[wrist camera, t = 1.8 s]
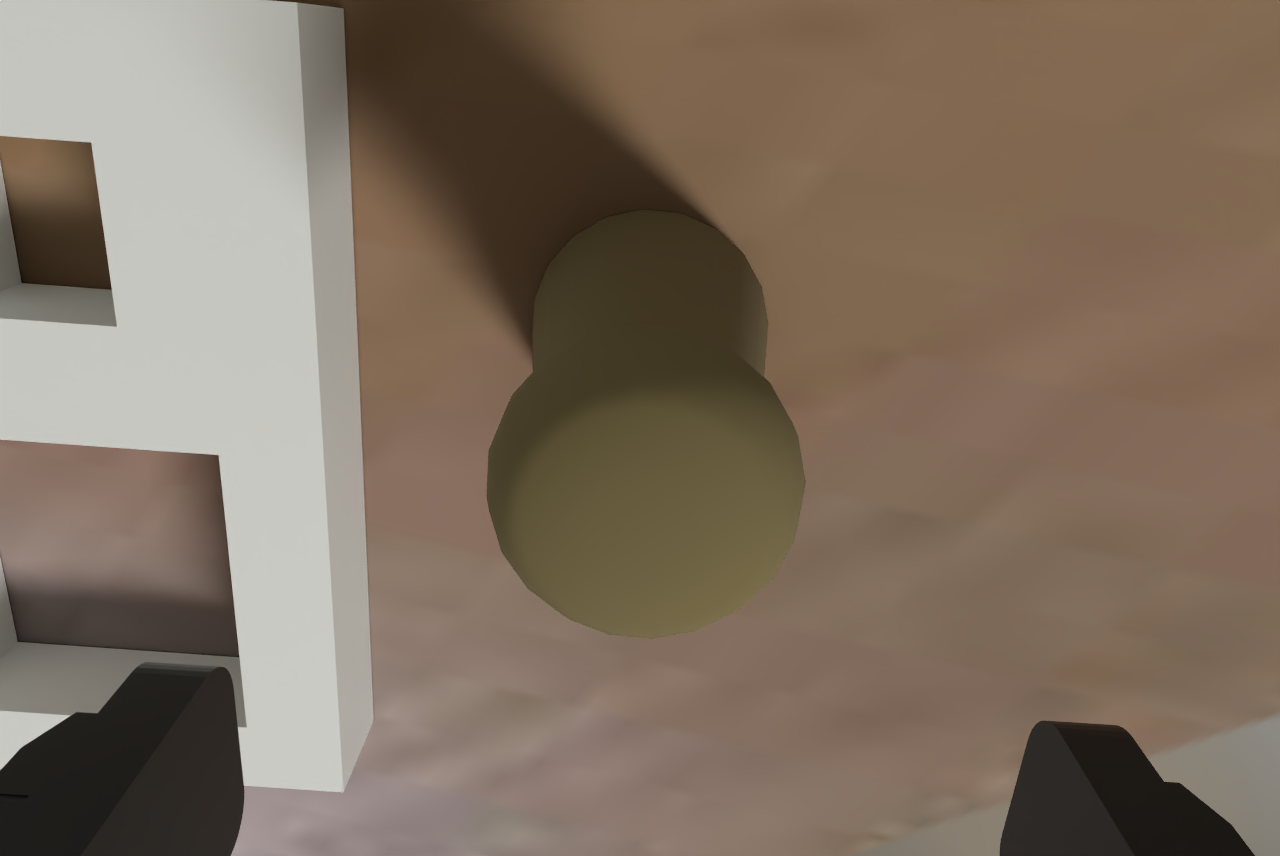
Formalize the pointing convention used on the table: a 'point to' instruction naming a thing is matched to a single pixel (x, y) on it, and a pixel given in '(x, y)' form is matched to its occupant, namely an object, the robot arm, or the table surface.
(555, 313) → the olive knobbed peg
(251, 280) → the socket board
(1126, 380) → the table surface
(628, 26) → the table surface
